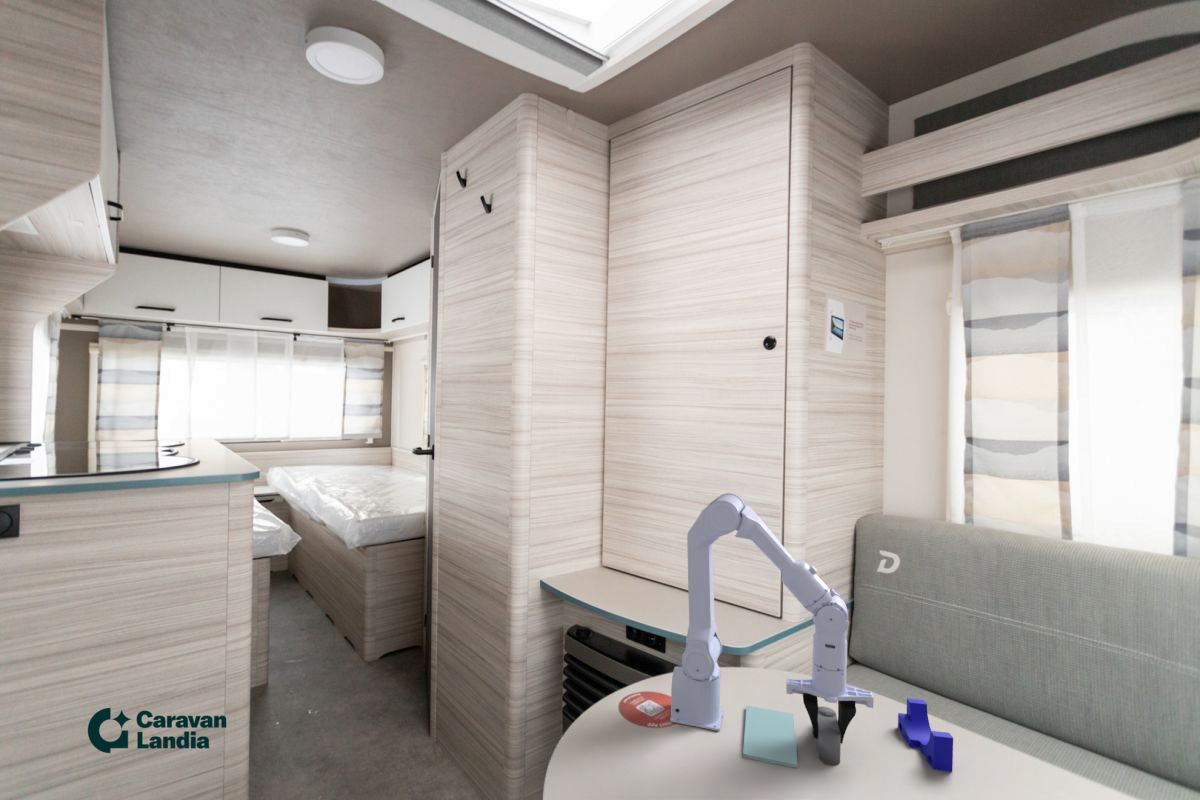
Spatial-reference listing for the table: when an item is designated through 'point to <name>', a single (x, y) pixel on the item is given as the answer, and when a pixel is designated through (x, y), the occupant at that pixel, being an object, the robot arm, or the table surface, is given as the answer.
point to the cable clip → (926, 736)
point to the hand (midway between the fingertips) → (827, 737)
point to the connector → (828, 736)
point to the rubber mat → (770, 736)
